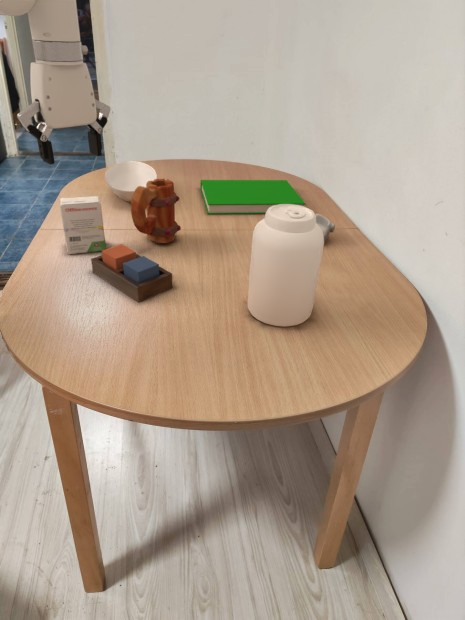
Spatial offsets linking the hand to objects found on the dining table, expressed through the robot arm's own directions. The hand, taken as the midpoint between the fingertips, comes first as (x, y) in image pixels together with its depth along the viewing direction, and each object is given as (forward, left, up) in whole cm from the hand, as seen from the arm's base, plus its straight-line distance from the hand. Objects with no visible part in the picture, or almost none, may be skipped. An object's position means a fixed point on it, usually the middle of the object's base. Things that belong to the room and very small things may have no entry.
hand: (73, 158), depth 85 cm
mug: (+19, +1, -24) cm, 30 cm away
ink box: (+5, +9, -24) cm, 26 cm away
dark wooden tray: (+4, -10, -23) cm, 26 cm away
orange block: (+4, -6, -22) cm, 24 cm away
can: (+18, -38, -24) cm, 48 cm away
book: (+60, +7, -24) cm, 65 cm away
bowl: (+35, +33, -24) cm, 54 cm away
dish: (+49, -20, -24) cm, 58 cm away
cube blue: (+4, -14, -22) cm, 27 cm away
